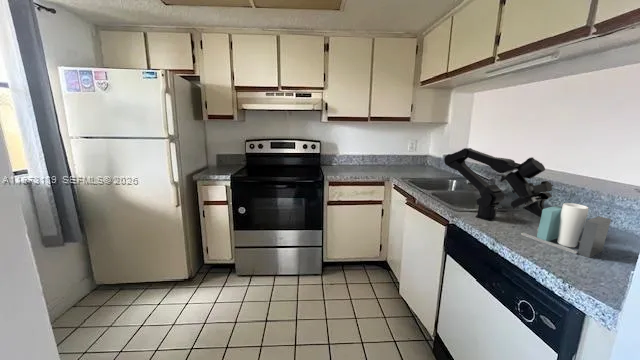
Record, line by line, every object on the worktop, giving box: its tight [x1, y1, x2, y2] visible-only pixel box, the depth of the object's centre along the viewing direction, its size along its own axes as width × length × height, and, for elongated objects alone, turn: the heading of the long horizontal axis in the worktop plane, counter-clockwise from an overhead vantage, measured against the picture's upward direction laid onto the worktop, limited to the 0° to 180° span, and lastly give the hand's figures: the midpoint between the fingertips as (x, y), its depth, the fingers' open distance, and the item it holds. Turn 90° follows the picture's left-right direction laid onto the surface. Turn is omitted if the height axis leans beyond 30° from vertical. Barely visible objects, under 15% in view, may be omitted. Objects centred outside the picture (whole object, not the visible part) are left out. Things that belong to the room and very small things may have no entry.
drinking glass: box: [556, 202, 589, 249], centre depth 96 cm, size 7×7×15 cm
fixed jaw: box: [521, 216, 612, 259], centre depth 98 cm, size 20×12×12 cm, turn 27°
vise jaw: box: [536, 205, 562, 242], centre depth 101 cm, size 3×10×12 cm, turn 117°
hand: (546, 219), depth 103 cm, fingers closed, pressing on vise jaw
